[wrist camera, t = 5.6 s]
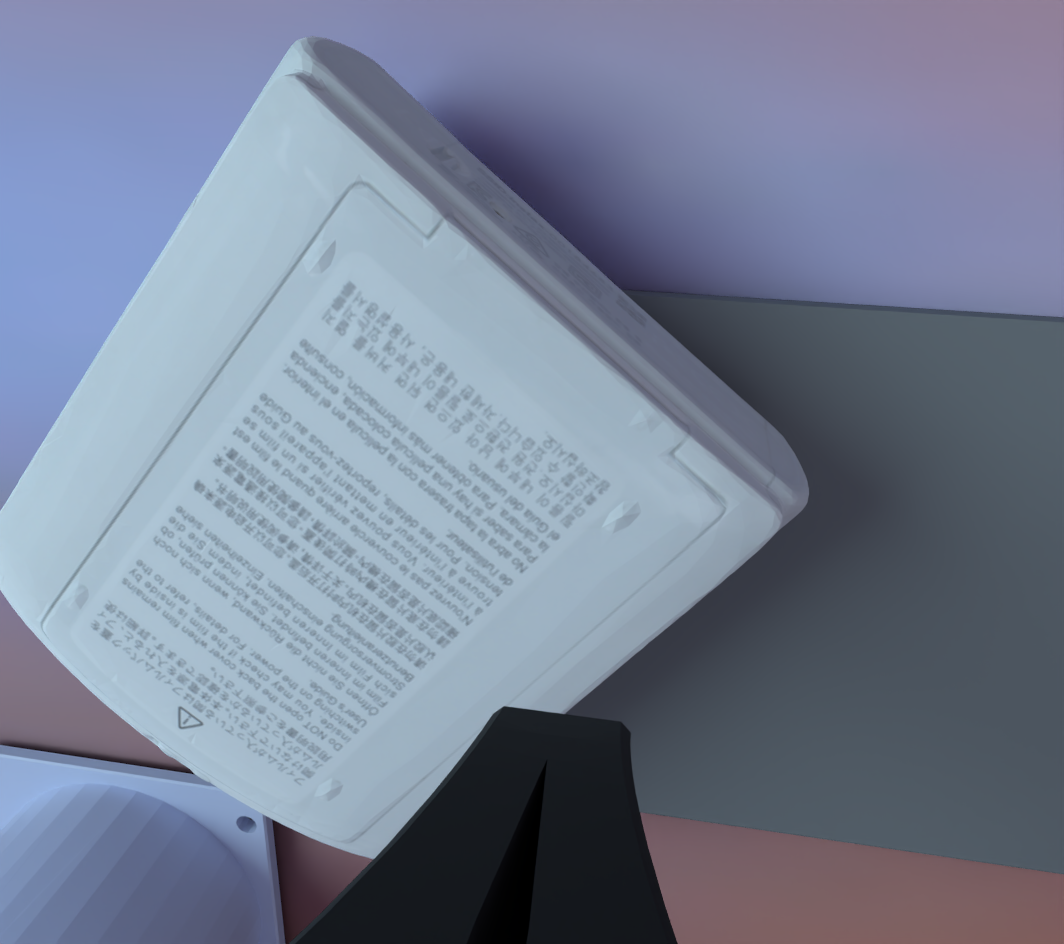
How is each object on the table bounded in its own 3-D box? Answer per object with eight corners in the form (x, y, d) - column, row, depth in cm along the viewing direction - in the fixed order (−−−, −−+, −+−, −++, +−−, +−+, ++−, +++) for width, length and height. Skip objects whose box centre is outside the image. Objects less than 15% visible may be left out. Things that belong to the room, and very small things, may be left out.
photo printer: (358, 30, 15) (48, 515, 20) (236, 10, 11) (-110, 620, 16) (808, 431, 16) (412, 791, 21) (842, 541, 12) (347, 950, 17)
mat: (1067, 861, 19) (1074, 875, 19) (308, 751, 22) (302, 762, 21) (1251, 329, 15) (1264, 335, 14) (269, 267, 17) (259, 271, 17)
